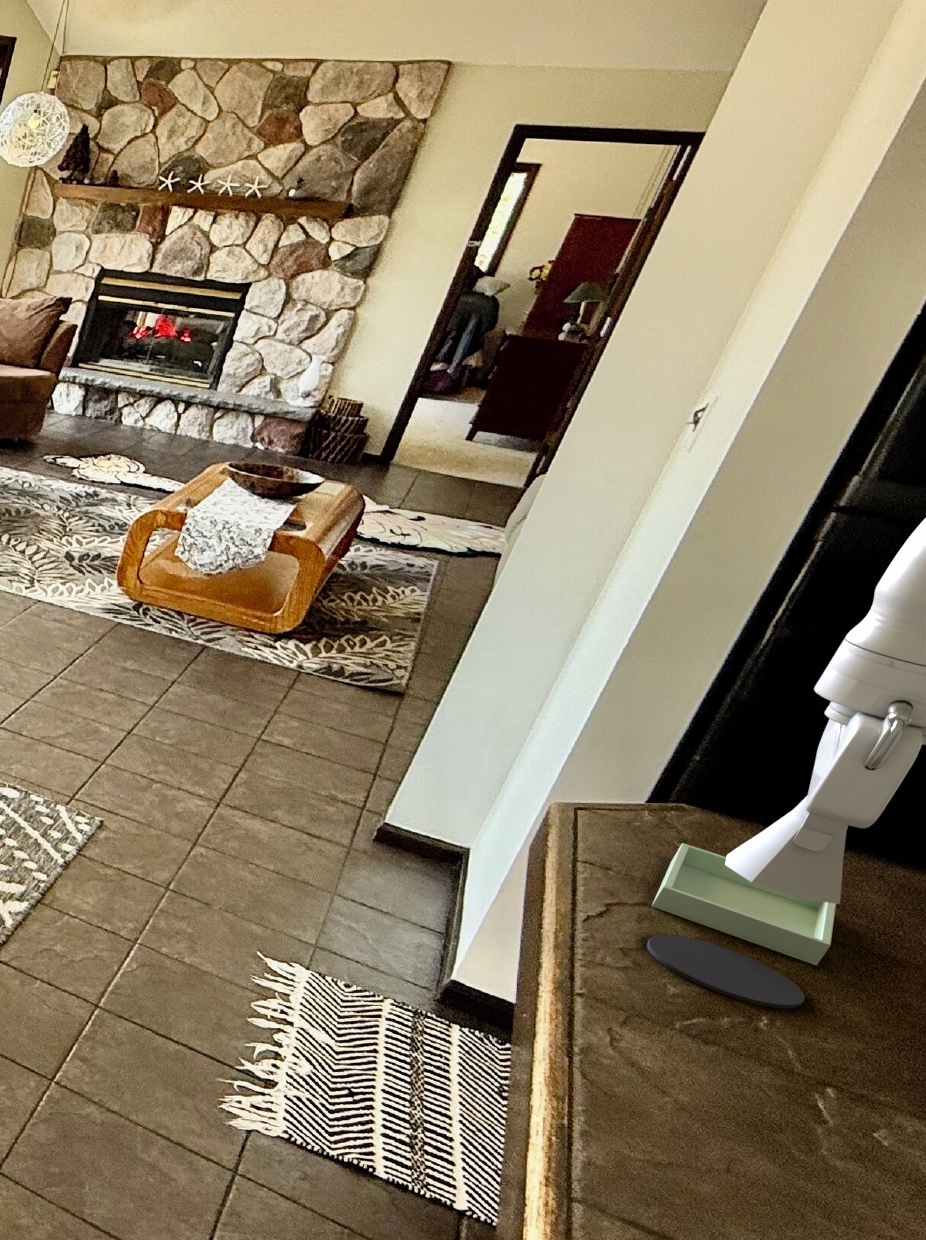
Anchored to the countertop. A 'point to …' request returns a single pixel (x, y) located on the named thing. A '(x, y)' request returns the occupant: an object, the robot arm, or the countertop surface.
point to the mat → (725, 971)
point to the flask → (792, 860)
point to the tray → (744, 906)
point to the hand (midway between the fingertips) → (808, 839)
